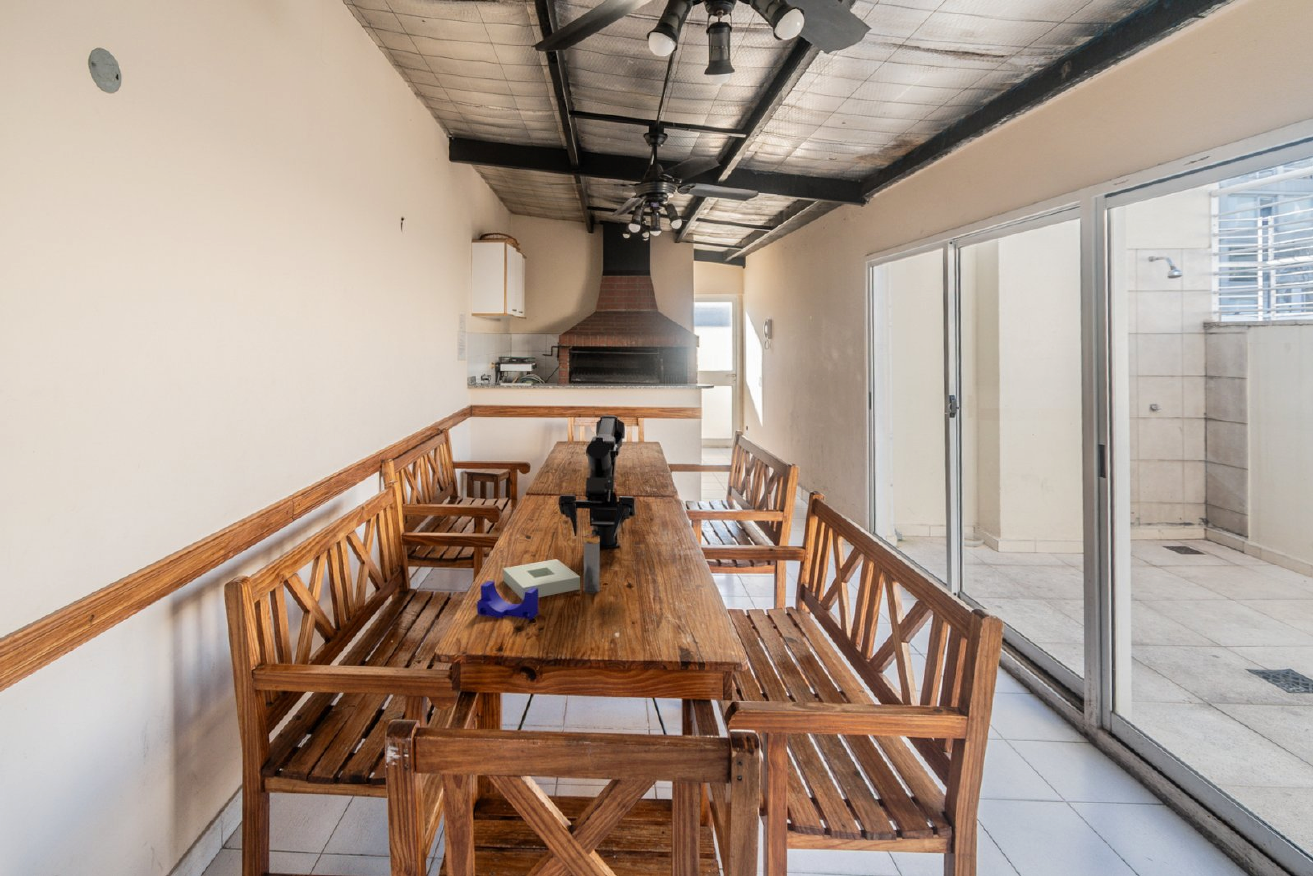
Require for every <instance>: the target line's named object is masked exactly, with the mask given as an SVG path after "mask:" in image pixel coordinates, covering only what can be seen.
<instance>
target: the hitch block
mask: <svg viewBox="0 0 1313 876" xmlns="http://www.w3.org/2000/svg"><path fill="white" fill-rule="evenodd" d="M502 581H503V582H505V584H506V585H507V586H508V587H509V588H510V589H511V590H512V591H513V592H514V593H515V594H516V595H517V596H518V597H519V598H520V599H521V600H522V601H523V600H524V596H525V592H526V591H527V590H528V589H530V588H531V587H535V588H538V598H542V597H547V596H553V595H556V594H562V593H567V592H572V591H577V590H581V576H580V575H578V574H577V573H576V572H575V571H573V570H572V569H570V568H569V567H568V566H567V565H565V564H564V563H562V562H561V561H560V560H558V559H557V558H555V559H549V560H544V561H543V560H542V561H539V562H531V563H526V564H521V565H520V564H519V565H515V566H508V567H502Z"/></svg>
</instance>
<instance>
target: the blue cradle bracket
mask: <svg viewBox="0 0 1313 876" xmlns="http://www.w3.org/2000/svg"><path fill="white" fill-rule="evenodd" d="M476 608H477V609H476V614H477V615H481V616H487V617H493V618H499V619H504V618H505V617H506V616H507V617H514V618H519V619H520V618H521V619H528V620H532V619H534V618H535V617H536V616H537V615H538V614H539V597H538V588H535V587H531V588H530V589H528V590H527V591H526V592H525V596H524V600H522V602H521V603H518V604H517V603H515V604H514V603H511V602H508V601H506V600H504V598H502V597H501V596H500V594H499V593H498V591H497V588H496V585H495V581H493V580H487V581H486V582H484V583H482V584H481V585H480V599H478V601H477V602H476Z"/></svg>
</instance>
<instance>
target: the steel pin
mask: <svg viewBox="0 0 1313 876" xmlns="http://www.w3.org/2000/svg"><path fill="white" fill-rule="evenodd" d="M583 592H584V593H586V594H596V593H599V592H600V537H599V536H598V535H592V534H586V535H584V536H583Z"/></svg>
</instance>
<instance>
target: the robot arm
mask: <svg viewBox="0 0 1313 876" xmlns="http://www.w3.org/2000/svg"><path fill="white" fill-rule="evenodd" d="M625 425H626V424H625V422H624V421H622V420H620V419H619V418H618V416H616V415H608V414H607V415H606V414H605V415H601V416H600V417H599V419H598V421H596V425H595V426H596V427H595V435H596V436H593V437H592V438H591V440H590V443H588V444H587V447H586V449H585V455H586V457H587V462H588V467H589V474H588V477H586V478H585V493H584V497H585V498H586V500H585V499H583V500H581V499H577V497H576V496H577V495H576V494H563V493H562V494H560V496H559V498H558V503H557V504H558V508H559V512H560V514H561V515H563V516H565V517H566V518H569V520H570V522H571V524H572V528H573V529H572V530H573V534H574V537H577V536H578V513H577V512H578V509H589V527H593V528H592V530H591V535H598V536H599V537H600V550H601V551H602V550H607V549H613V548H617V547H618V548H619V547H621V543H618V531H619V530H620V528H621V526H623V523H624V522H625V521H626V520H629V519H630V518H631V517H632V518H633V517H635V516H636V499H635V497H634V495H633V496H630V495H619V496H618V497H617V493H616V492H615V478H616V464H617V463H616V461H617V458H618V456H619V455H620V451H621V450H620V449H621V447H622V446H623V440H624V439H625V438H626V437H625V436H626V427H625ZM600 550H599V551H600Z"/></svg>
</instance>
